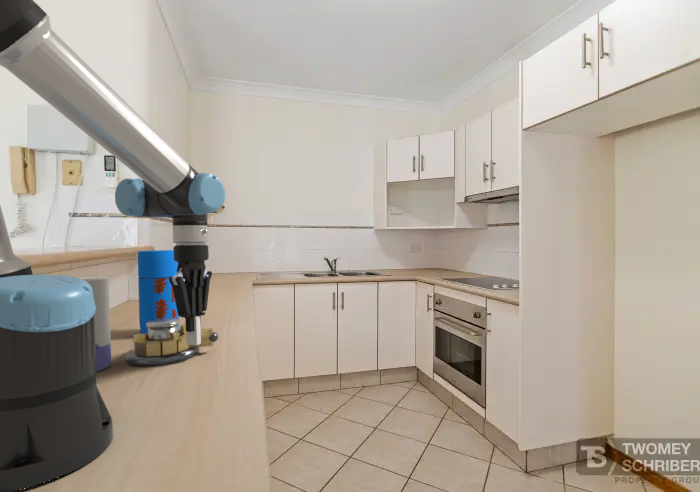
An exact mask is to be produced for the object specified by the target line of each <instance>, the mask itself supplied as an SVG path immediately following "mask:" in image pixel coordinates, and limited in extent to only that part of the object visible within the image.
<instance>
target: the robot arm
mask: <svg viewBox="0 0 700 492" xmlns="http://www.w3.org/2000/svg"><path fill="white" fill-rule="evenodd" d="M0 66H1V67H3V68H5V69H6V70H7V71H8V72H10V73H11V74H12V75H13V76H15V77H16V78H17V79H19V81H20V82H22V83H23V84H25V85H26V86H27V87H28V88H30V90H31V91H33V92H34V93H36V94H37V95H38V96H40V97H41V99H43V100H44V101H46V102H47V103H48V104H49V106H51V107H53V108H54V109H55V110H57V112H59V113H60V114H61V115H63V116H64V117H65V118H67V120H69V121H70V122H71V123H72V124H73V125H75V126H76V127H78V128H79V129H80V130H81V131H82V132H84V133H85V134H86V135H87V136H88V137H90V138H91V139H92V140H93V141H95V142H96V143H97V144H98V145H100V146H101V147H102V148H103V149H105V150H106V151H107V152H108V153H110V155H112V156H113V157H114V158H116V160H118V161H119V162H121V164H123V165H124V166H125V167H127V168H128V169H129V170H130V171H132V172H133V173H134V174H135V175H136V176H137V177H138V178H124V179H122V180H121V181H119V183H118V184H117V185H116V187H115V188H116V189H115V192H114V198H115V199H114V201H115V205H116V208H117V209H118V211H119V212H120V213H121V214H122V215H124V216H127V217H128V216H129V217H136V218H169V219H172V220H171V222H172V242H173V243H174V244H175V245H173V248H172V250H173V252H174V261H176V262H178V267H177V273H176V275H175V276H170V277H169V281H170V283H171V285H172V287H173V292H174V297H175V302H176V307H177V312H178V316H179V317H180V318H184V319H185V320H184V321H185V324H186V332H187V345H199V344H201V329H202V322H201V321H202V319H201V318H202V316H205V315H206V311H207V309H208V300H209V292H210V282H211V278H212V276H213V272H212V271H211V270H210V271H209V270H207V269H206V267H207V265H206V264H205V262H206V261H208V260H209V259H210V258H209V254H210V253H209V245H208V244H206V243H208V242H209V234H208V233H209V231H208V223H209V222H208V214H213V213H216V212H218V211H219V210H221V209H222V207H223V205H224V203H225V200H226V191H225V185H224V184H223V182H222V181H221V179H220V178H219V177H218V176H216V175H214V174H213V173H207V172H206V173H205V172H200V173H199V172H198V171H197V170H195V169H194V168H193V167H192V166H191V165H190V164H189V163H188V162H187V160H185V159H184V158H183V157H182V156H181V154H179V153H178V152H177V151H176V150H175V148H174V147H172V146H171V145H170V144H169V143H168V142H167V141H166V140H165V139H164V138H163V137H162V136H161V135H160V134H159V133H158V131H156V130H155V129H153V127H152V126H150V124H149V123H147V121H146V120H145V119H144V118H142V116H141V115H140V114H138V113H137V111H135V110H134V109H133V108H132V107H131V106H130V104H128V103H127V101H125V100H124V99H123V98H122V97H121V96H120V95H119V94H118V93H117V91H115V90H114V89H113V88H112V87H111V86H110V85H109V84H108V82H107V83H106V82H105V80H104V79H103V78H102V77H101V76H100V75H98V73H97V72H96V71H94V69H93V68H91V67H90V66H89V64H87V63H86V61H84V59H82V58H81V57H80V56H79V55H78V54H77V53H76V52H75V51H74V50H73V49H72V48H71V47H70V46H69V45H67V43H66V42H65V41H64V40H63V39H62V37H60V36H59V35H58V34H57V33H56V32H55V31H53V29H52V27H51V21H50V16H49V15H48V13H47V12H46V11H44V10H43V9H42V7H40V5H38V4H37V2H35V1H34V0H0ZM79 278H80V277H75V276H69V275H60V274H59V275H53V274H33V270H32V266H31V263H30V262H28V261H26V260H25V259H23V258H20V257H18V256H16V255H15V254H14V250H13V247H12V244H11V239H10V236H9V232H8V228H7V224H6V222H5V217H4V214H3V210H2V207H1V205H0V492H14V491H15V492H18V491H17V490H19V491H23V490H25V489H24V488H27V489H29V488H28V487H31V488H34V487H36V486H35V485H38V484H41V483H44V482H47V481H49V480H52V479H54V478H57V477H60V476H62V475H64V476H66V475H68V473H69V474H71V473H73V472H75V471H77V470H78V469H81V468H82V467H84V466H86V465H87V464H89V463H91V462H92V461H93V460H95V459H97V457H99V456H100V455H101V454H103V453H104V452H105V451H106V450H107V449H108V448H109V446H110V445H111V443H112V442H113V438H114V428H113V427H114V426H113V425H114V422H113V419H112V416H111V414H110V412H109V410H108V407H107V406H106V403H105V401H104V399H103V397H102V395H101V393H100V390H99V388H98V385H97V384H98V383H97V372H96V347H95V311H96V305H95V302H94V296H93V290H92V287H91V285H90V284H89V283H88V282H86V281H85V280H83V279H79ZM76 469H77V470H76ZM74 470H75V471H74ZM72 471H73V472H72ZM70 472H71V473H70ZM65 474H66V475H65ZM62 477H63V476H62ZM60 478H61V477H60ZM57 479H58V478H57ZM52 481H53V480H52ZM49 482H50V481H49ZM47 483H48V482H47ZM44 484H45V483H44ZM41 485H42V484H41ZM33 486H34V487H33ZM38 486H39V485H38ZM20 489H21V490H20ZM22 489H23V490H22Z"/></svg>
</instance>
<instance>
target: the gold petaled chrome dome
mask: <svg viewBox="0 0 700 492" xmlns="http://www.w3.org/2000/svg"><path fill="white" fill-rule="evenodd" d="M218 339H219V335H218V333H217V332H215V329H214V327H212V328H201V344H199V345H187V332H186V323H185V324H179V329H178V332H172V333H170V339H169V340H163V341H149V331H148V333H145V334H143V333H137V334H134V335H133V338H132V349H133V353H134V354H135V355H137V356H144V357H145V356H147V357H150V356H161V355H168V354H174V353H177V352H181V351H184V350H186V349H189V348H190V347H199V348H203V347H205V348H206V347H213V346H214V345H215V342H216V341H218Z"/></svg>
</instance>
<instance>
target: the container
mask: <svg viewBox="0 0 700 492" xmlns="http://www.w3.org/2000/svg"><path fill="white" fill-rule="evenodd" d="M78 278H79V279H83V280H85V281H86V282H88V283H89V284H90V285H91V287H92V290H93V296H94V302H95V305H96V311H95V347H96V373H97V372H100V371H103V370H105V369H107V368H109V367H110V366H111V365H112V346H111V345H112V344H111V341H112V340H111V339H112V338H111V313H110V307H111V306H110V281H109V280H110V279H109V277H107V276H83V277H82V276H81V277H78Z"/></svg>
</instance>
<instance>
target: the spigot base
mask: <svg viewBox="0 0 700 492" xmlns="http://www.w3.org/2000/svg"><path fill="white" fill-rule="evenodd" d="M178 324H179V325H180V318H179V319H177V318H164V319H157V320H152V321H149V322H147V323H146V327H147V328H148V331H149V341H163V340H169V339H170V333H172V332H178ZM198 354H200V347H190V348H189V349H186V350H184V351H181V352H177V353H174V354H168V355H161V356H150V357H147V356H145V357H144V356H137V355H135V354H134V353H133V348H131V349H129V350H128V351H126V353H125V364H127V365H129V366H133V367H138V368H139V367H142V368H143V367H144V368H145V367H147V368H149V367H150V368H151V367H152V368H153V367H161V366H167V365H172V364H177V363H181V362H184V361H186V360H189V359H192V358H193V357H196V356H197V355H198Z"/></svg>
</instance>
